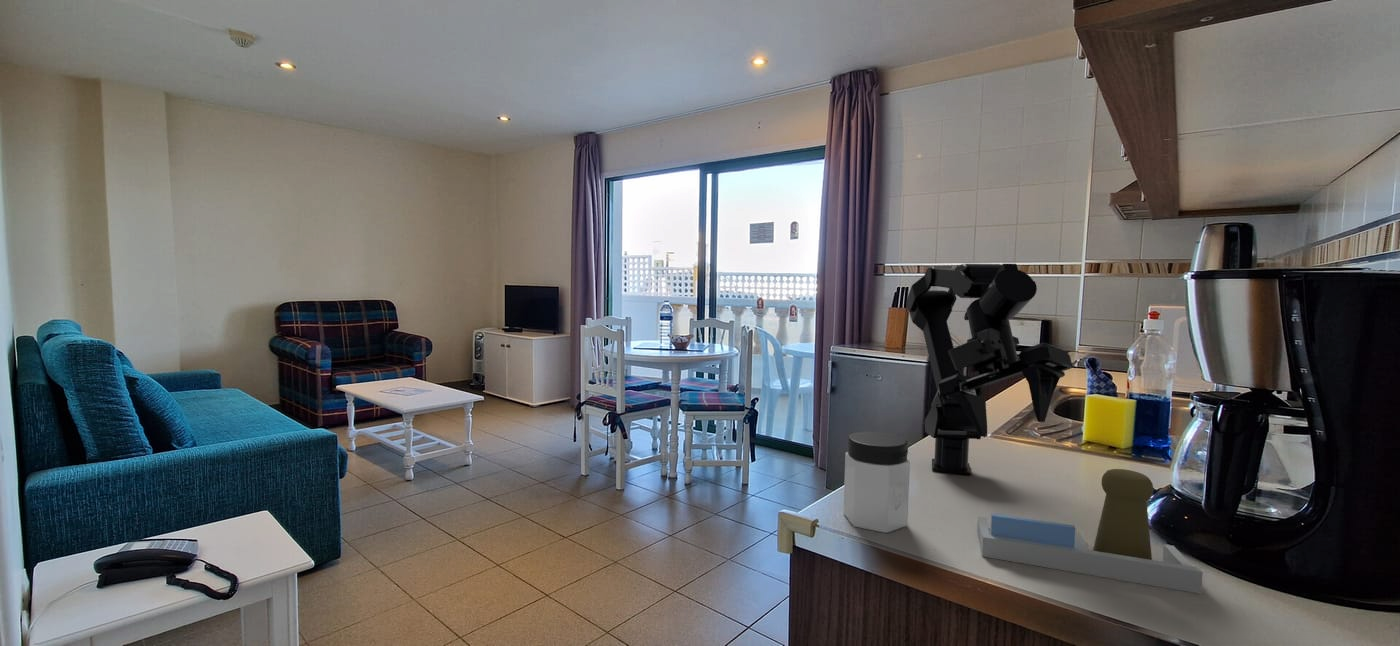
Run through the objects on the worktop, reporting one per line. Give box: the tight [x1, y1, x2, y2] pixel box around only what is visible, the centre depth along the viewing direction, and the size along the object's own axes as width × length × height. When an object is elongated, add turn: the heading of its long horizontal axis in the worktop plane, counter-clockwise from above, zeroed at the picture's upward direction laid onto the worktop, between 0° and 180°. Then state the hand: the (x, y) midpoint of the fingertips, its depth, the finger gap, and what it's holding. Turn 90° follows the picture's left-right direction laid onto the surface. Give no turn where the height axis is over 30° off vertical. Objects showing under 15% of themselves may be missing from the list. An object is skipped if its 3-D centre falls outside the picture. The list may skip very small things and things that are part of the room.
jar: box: [843, 431, 911, 534], centre depth 82 cm, size 9×8×12 cm
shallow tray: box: [976, 513, 1204, 595], centre depth 72 cm, size 9×22×5 cm, turn 68°
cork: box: [1092, 468, 1154, 560], centre depth 72 cm, size 6×6×11 cm
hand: (1011, 429), depth 83 cm, fingers open, 9 cm apart
